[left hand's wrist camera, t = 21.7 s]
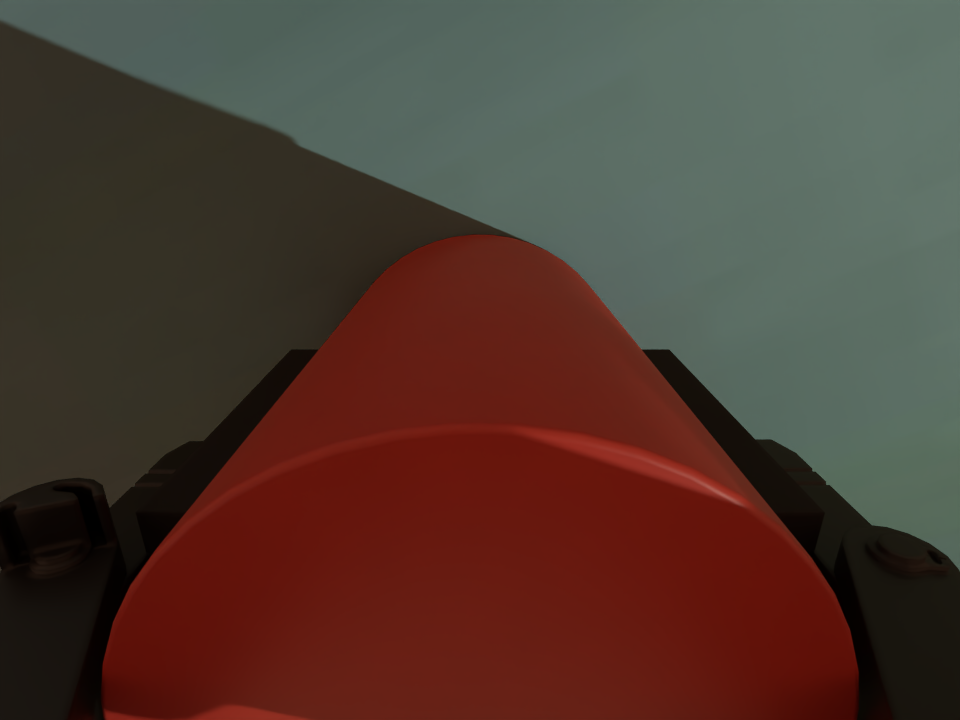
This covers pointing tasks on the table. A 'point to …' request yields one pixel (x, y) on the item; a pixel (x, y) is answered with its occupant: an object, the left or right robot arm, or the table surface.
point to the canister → (480, 533)
